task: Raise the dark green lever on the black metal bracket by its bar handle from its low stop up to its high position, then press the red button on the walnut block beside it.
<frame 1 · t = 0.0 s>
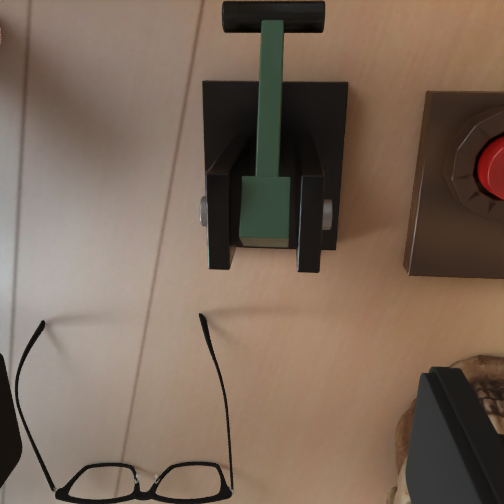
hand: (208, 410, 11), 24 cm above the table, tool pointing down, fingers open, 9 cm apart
eyeglasses: (139, 396, 41), on the table
button block: (482, 186, 32), on the table
coin bank: (455, 451, 40), on the table
bracket: (273, 166, 32), on the table
lever: (269, 118, 23), point 9 cm above the table, hinge at -30.0°
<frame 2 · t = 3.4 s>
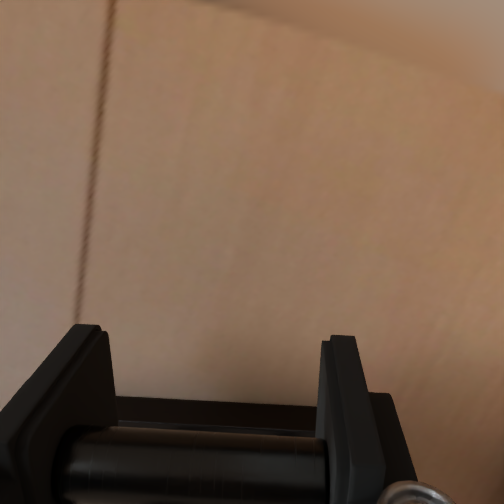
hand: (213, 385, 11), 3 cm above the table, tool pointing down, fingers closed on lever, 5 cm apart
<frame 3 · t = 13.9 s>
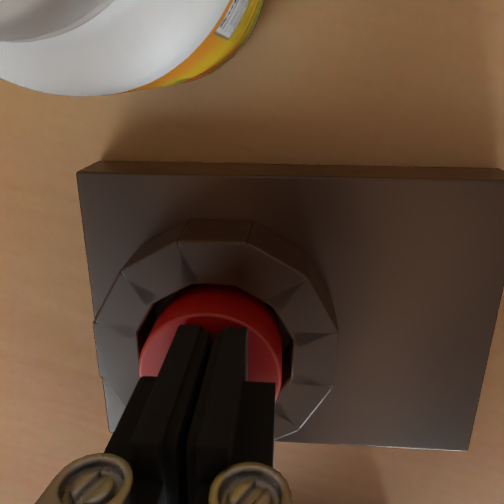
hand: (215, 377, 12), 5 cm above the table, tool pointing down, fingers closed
button block: (288, 299, 16), on the table
button: (214, 357, 13), point 4 cm above the table, slide at -0.3 cm, touching gripper
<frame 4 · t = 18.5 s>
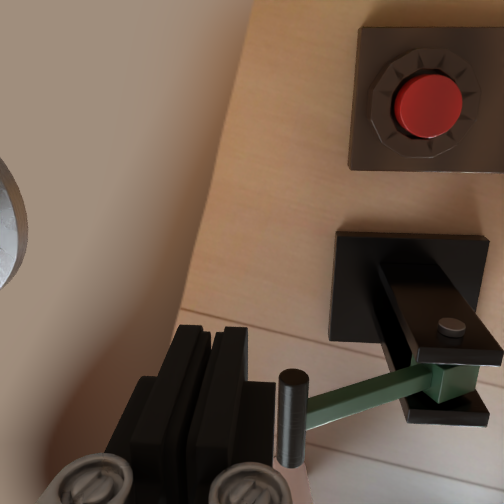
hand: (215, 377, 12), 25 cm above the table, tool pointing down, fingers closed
button block: (441, 101, 32), on the table
button: (427, 105, 29), point 4 cm above the table, slide at 0.1 cm
bracket: (401, 287, 38), on the table
lever: (378, 390, 26), point 13 cm above the table, hinge at 29.1°
smoothie: (286, 467, 45), on the table
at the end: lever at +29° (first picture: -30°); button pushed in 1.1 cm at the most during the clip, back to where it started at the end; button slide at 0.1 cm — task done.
